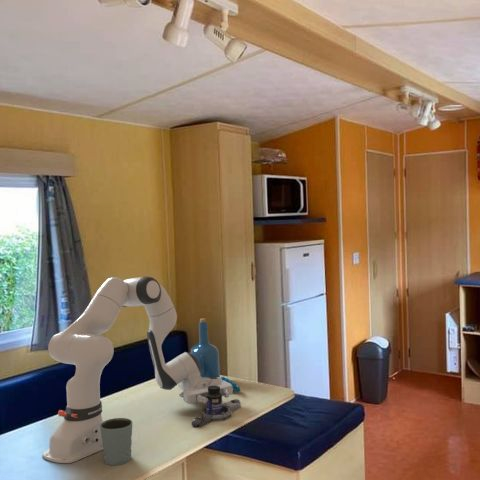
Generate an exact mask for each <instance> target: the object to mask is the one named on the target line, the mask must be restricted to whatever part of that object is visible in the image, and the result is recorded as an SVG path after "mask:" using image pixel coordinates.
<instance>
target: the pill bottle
mask: <svg viewBox="0 0 480 480" xmlns="http://www.w3.org/2000/svg"><path fill="white" fill-rule="evenodd" d="M219 391H220V387H219V386H209V387H208V393H207V394H206V397H208V402H206V403H205V405H206V406H205V408H206V413H210V414H222V413H223V412H222V404H223V396H222V394H221V393H220V392H219Z"/></svg>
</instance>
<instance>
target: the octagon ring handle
mask: <svg viewBox="0 0 480 480" xmlns="http://www.w3.org/2000/svg"><path fill="white" fill-rule="evenodd" d="M241 406H242V405H241V401H240V399H238V398H237V399H236V398H235V399H231V400H229V401H226V402H225V403H222V414H210V413H206V407H205V408H203V409H202V416H201V417H197V416H196V417H193V418H191V426H192V428H195V429H198V428H202V427H205V426H207V425H209V424H211V423H213V422H214V423H215V422H224V421H227V420H229V419H231V418H232V413H233V412H235V411H237V410H239V409H241V408H242V407H241Z"/></svg>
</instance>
